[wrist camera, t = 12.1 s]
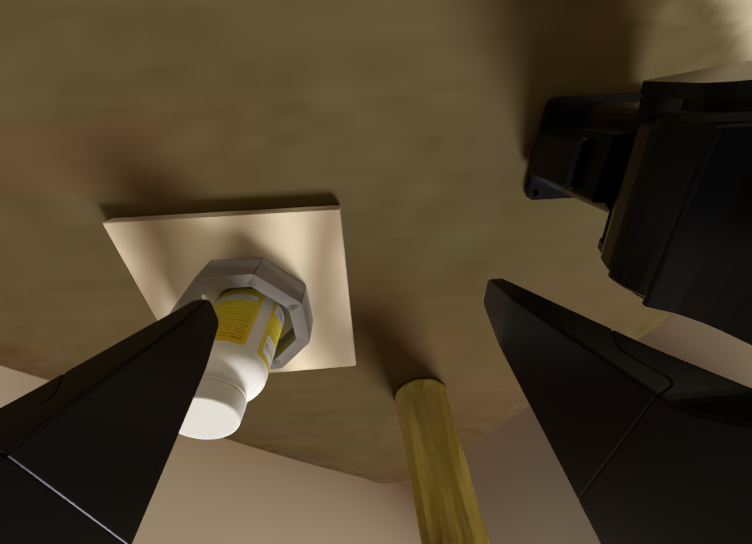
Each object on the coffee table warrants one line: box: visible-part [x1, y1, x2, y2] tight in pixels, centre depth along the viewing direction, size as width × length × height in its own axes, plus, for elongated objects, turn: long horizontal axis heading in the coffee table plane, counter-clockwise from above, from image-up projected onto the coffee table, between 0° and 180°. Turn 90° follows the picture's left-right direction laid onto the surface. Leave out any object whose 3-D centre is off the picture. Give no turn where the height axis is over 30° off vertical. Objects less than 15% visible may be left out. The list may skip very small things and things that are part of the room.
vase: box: [395, 379, 491, 544], centre depth 27 cm, size 6×6×14 cm
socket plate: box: [103, 205, 356, 373], centre depth 23 cm, size 16×16×4 cm
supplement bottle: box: [179, 287, 286, 439], centre depth 20 cm, size 5×5×10 cm
